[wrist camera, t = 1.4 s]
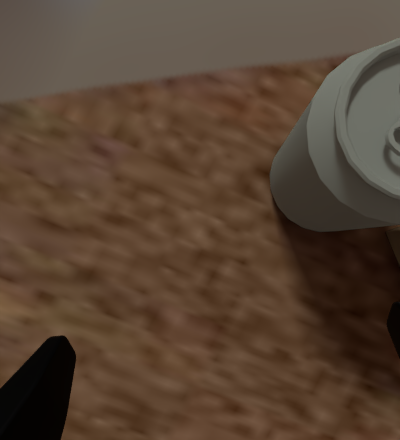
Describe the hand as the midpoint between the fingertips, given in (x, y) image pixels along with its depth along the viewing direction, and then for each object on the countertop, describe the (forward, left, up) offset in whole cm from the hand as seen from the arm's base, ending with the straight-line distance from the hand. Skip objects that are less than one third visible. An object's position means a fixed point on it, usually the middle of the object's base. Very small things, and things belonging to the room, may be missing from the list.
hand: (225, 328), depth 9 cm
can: (+4, -9, -14) cm, 17 cm away
